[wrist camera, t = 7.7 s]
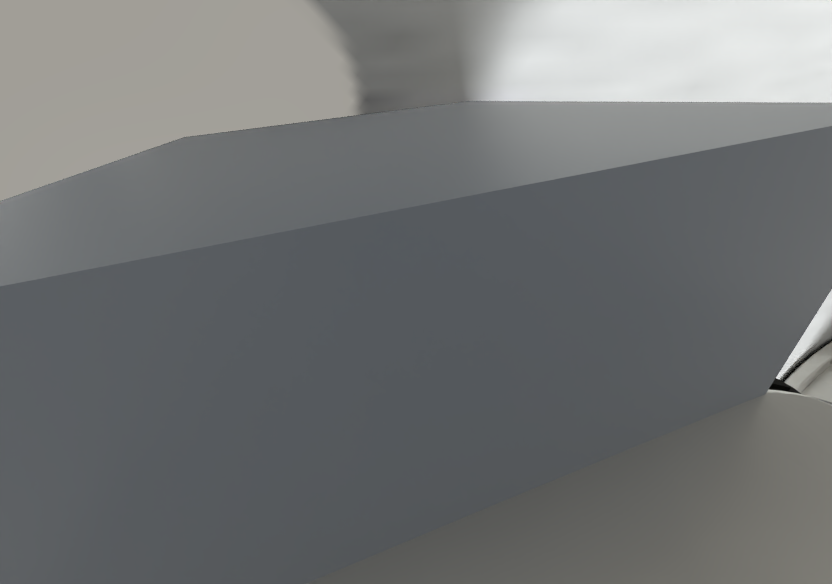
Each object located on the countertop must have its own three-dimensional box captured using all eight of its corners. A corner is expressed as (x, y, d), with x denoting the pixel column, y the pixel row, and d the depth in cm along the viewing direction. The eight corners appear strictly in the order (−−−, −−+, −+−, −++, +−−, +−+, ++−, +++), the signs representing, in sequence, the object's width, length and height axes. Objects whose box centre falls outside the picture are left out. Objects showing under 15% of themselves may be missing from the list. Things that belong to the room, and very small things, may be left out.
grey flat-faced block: (469, 101, 10) (947, 102, 3) (472, 390, 16) (619, 625, 9) (183, 137, 8) (-562, 392, 1) (310, 443, 15) (330, 784, 7)
